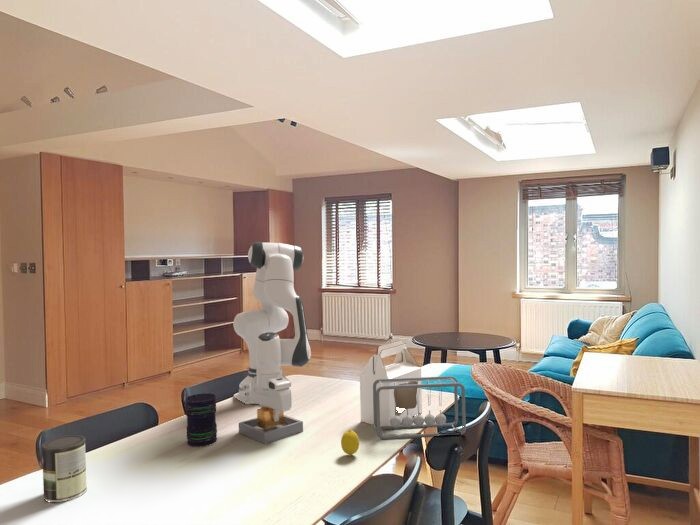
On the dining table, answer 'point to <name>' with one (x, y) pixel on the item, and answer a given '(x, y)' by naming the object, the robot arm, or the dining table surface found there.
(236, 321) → the robot arm
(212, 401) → the black ridged cylinder
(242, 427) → the grey tray
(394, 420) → the newton's cradle
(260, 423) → the wooden block
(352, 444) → the lemon
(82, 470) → the coffee can
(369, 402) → the gable box
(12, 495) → the dining table surface
